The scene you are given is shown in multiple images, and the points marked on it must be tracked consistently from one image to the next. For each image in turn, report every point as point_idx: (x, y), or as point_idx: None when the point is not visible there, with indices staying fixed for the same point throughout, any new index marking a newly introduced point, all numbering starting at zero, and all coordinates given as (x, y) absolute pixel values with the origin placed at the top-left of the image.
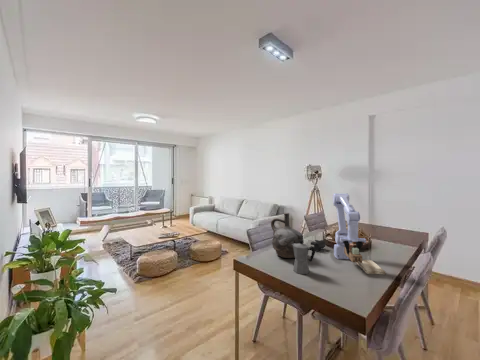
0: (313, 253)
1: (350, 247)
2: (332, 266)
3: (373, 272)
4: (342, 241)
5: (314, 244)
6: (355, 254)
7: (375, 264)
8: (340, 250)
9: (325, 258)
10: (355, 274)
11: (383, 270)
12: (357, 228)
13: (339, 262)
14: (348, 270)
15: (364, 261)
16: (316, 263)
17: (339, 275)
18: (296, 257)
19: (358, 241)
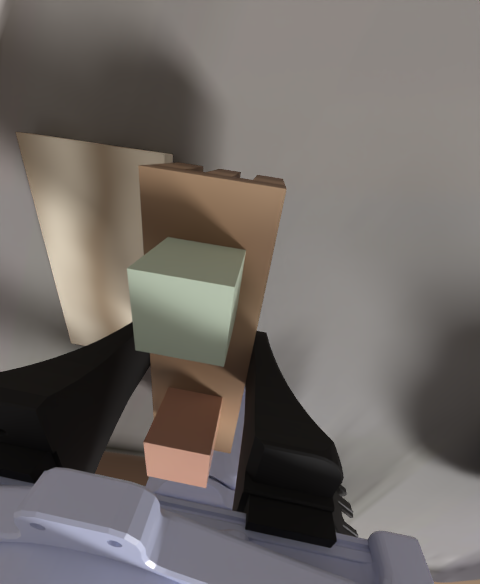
0: None
1: (196, 416)
2: (372, 294)
3: (116, 146)
4: (379, 538)
5: (343, 527)
6: (220, 236)
7: (62, 277)
8: (236, 441)
9: (333, 403)
10: (278, 130)
11: (27, 160)
12: None
13: (279, 348)
14: (292, 218)
15: (120, 326)
16: (458, 348)
17: (450, 102)
18: None
19: (26, 482)
